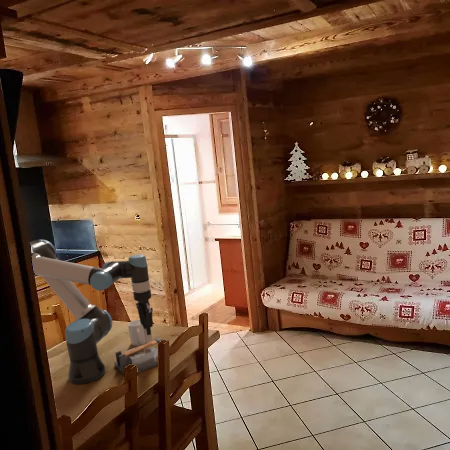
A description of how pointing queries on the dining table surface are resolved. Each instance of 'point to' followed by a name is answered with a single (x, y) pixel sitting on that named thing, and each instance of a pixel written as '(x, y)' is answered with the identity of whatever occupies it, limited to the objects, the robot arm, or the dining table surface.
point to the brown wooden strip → (139, 348)
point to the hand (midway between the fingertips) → (148, 340)
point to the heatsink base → (138, 358)
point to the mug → (136, 333)
